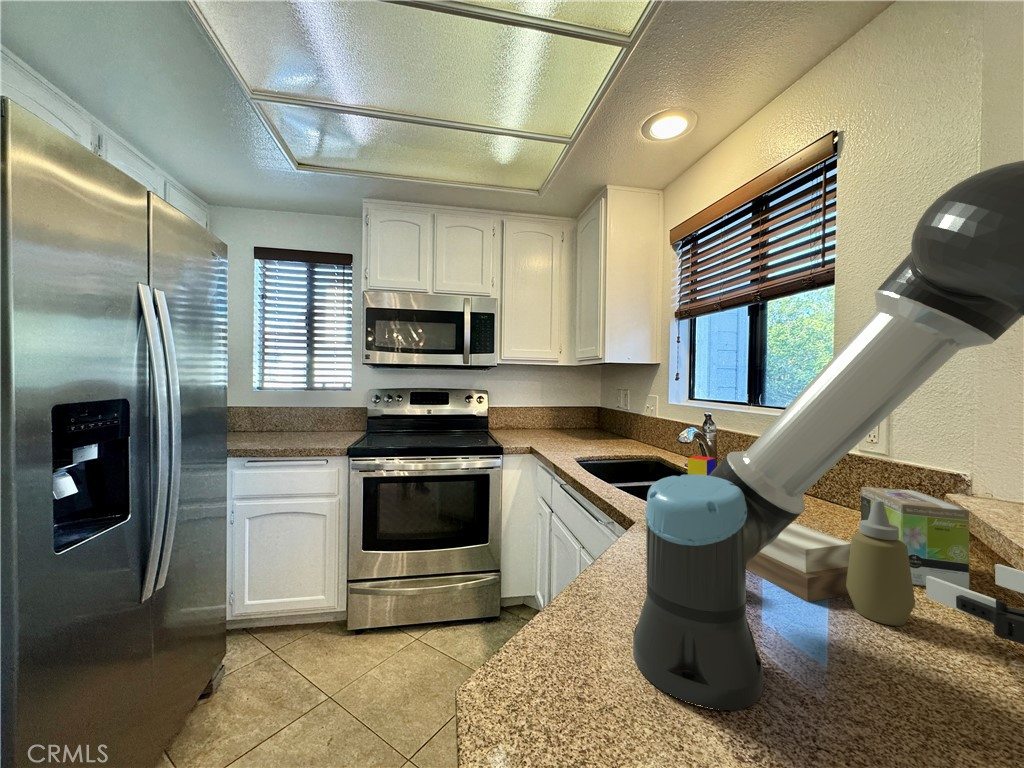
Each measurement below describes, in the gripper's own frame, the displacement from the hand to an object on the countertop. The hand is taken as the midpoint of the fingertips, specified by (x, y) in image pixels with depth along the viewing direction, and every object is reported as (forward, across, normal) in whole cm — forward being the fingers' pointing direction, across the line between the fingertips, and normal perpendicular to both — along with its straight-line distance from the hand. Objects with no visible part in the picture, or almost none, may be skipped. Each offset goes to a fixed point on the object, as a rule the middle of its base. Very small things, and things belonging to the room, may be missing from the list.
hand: (963, 580), depth 53 cm
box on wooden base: (+23, 0, -10) cm, 25 cm away
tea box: (+20, +24, -10) cm, 33 cm away
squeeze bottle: (+10, 0, -10) cm, 14 cm away
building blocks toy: (+44, -1, -10) cm, 45 cm away
